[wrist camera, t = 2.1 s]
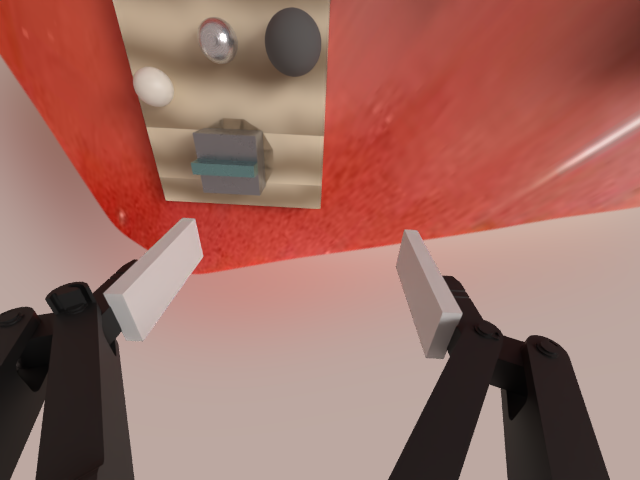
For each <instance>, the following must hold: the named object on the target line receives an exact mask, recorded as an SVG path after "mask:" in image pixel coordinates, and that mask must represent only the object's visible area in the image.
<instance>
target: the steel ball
mask: <svg viewBox="0 0 640 480" xmlns="http://www.w3.org/2000/svg"><path fill="white" fill-rule="evenodd" d="M197 39H198V44H199V47H200V49H201V51H202V52H203V54H204V55H205V56H206V57H207V58H208V59H209V60H211V61H212V62H215V63H218V64H226V63H229V62H230V61H232V60H233V59H234V57H235V56H236V54H237V50H238V40H237V36H236V33H235V31H234V30H233V28H232V27H231V25H230V24H229V23H227V22H226V21H225V20H223V19H221V18H218V17H209V18H206V19H205V20H203V21H202V23H201V24H200V26H199V28H198V32H197Z"/></svg>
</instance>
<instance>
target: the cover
mask: <svg viewBox="0 0 640 480" xmlns="http://www.w3.org/2000/svg"><path fill="white" fill-rule="evenodd" d="M193 138H194V144H195V149H196V154H197V159H196V160H195V161H193V162H191V167H192V172H193V175H200V176H201V181H202V186H203V192H204V193H221V194H239V195H258V196H260V195H261V193H262V191H263V190H264V188H265V186H266V180H265V164H264V148H263V133H262V130H242V129H222V128H203V129H201V130H198V131H196V132H193Z"/></svg>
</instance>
